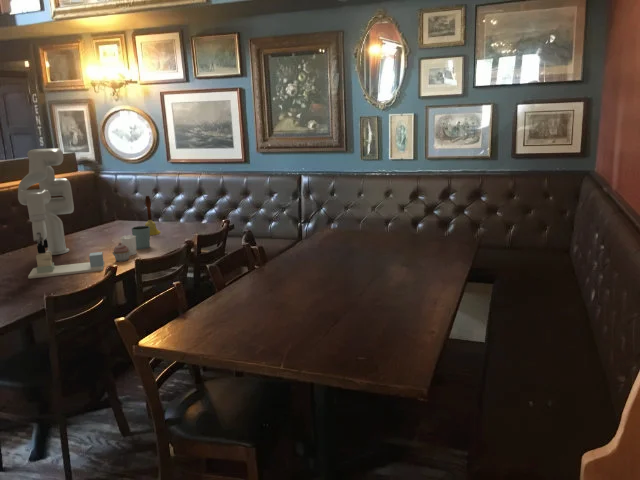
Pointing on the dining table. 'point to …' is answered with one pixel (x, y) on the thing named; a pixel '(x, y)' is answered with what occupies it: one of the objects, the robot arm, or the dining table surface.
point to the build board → (63, 270)
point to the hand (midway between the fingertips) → (43, 250)
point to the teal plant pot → (142, 236)
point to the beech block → (44, 259)
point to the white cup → (130, 243)
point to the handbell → (150, 223)
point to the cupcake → (121, 252)
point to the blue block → (96, 259)
